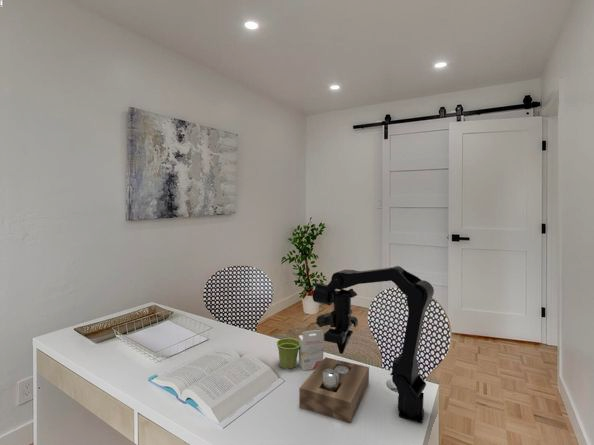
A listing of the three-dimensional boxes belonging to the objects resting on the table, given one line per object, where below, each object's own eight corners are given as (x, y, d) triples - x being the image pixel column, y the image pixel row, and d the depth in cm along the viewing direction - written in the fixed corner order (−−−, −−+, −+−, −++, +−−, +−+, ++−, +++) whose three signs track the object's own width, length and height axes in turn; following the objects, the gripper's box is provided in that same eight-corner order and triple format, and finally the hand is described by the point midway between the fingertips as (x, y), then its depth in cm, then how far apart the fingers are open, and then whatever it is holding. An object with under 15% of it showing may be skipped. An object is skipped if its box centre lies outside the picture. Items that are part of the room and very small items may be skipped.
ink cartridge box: (319, 361, 125) (319, 325, 124) (323, 367, 120) (323, 329, 119) (298, 364, 122) (298, 327, 121) (302, 371, 117) (302, 332, 117)
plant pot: (300, 360, 126) (301, 338, 125) (299, 372, 116) (300, 349, 116) (277, 358, 127) (278, 337, 126) (274, 370, 117) (274, 347, 117)
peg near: (340, 389, 98) (340, 371, 98) (335, 397, 94) (335, 378, 94) (326, 385, 101) (326, 367, 100) (320, 393, 96) (320, 374, 96)
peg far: (350, 384, 109) (350, 367, 108) (346, 391, 104) (346, 374, 104) (337, 380, 111) (337, 364, 110) (332, 387, 106) (332, 370, 106)
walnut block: (368, 384, 109) (369, 367, 109) (350, 423, 89) (350, 402, 89) (325, 373, 116) (325, 357, 116) (299, 407, 96) (299, 388, 96)
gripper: (329, 297, 118) (328, 338, 119) (308, 312, 101) (308, 359, 102) (358, 301, 113) (357, 344, 114) (342, 318, 96) (341, 367, 97)
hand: (341, 353), depth 107 cm, fingers closed
